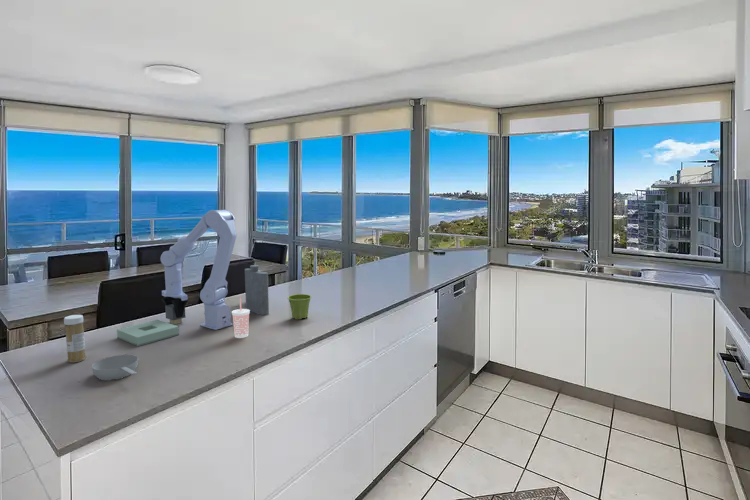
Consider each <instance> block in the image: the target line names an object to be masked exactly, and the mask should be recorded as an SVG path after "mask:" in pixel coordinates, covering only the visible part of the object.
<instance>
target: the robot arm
mask: <svg viewBox="0 0 750 500" xmlns="http://www.w3.org/2000/svg"><path fill="white" fill-rule="evenodd" d="M235 221H236V218H235V216H234V214H233V213H232V212H231V211H230V210H228V209H216V210H215V209H211V210H208V211H207V212H206V213H205V214H204V215H202V216H201V218H200V220H199V221H198V223H197V224H196V225H195V226H194V227H193V228H192V230H191V231H189V233H188V234H187V236H185V235H184V236H180V237H178V238H177V239H176V240H177V241H176V242H175V244H173V245H171V246H170V247H169V250H165V251H163V252H162V254H161V255H160V259H159V260H160V263H161V264H162V265H163V266H164V267H163V268H164V280H165V281H164V283H165V290H164V289H163V290H161V296H163V297H161V301H162V303H163V304H164V307H165V306H166V305H170V304H173V305H174V308H175V313H176V317H177V318H180V317H183V312H184V308H185V309H186V306H187V303H188V302H189V299H188V298H189V297H188V294H186V293H185V292H184V291H183V279H182V277H183V275H182V274H183V273H182V267H183V262H184V260H185V257H186V256H187V255H188V254H189V253H190V252H191V251H193V249H194V248H195V245H196V244H195V242H197V240H199V239H200V238H201V237H202V236H203V235H204V234H205V233H207V231H208V230H210V229H211V230H213V232H215V234H217V235H218V237H219V241H218V244H217V248H216V249H217V250H216V253H215V256H214V260H213V265H212V269H211V272H210V275H209V278H208V279H207V280H206V282H205V283H204V285H203V288H202V289H201V290H200V292H199V298H200V300H201V301H202V303H203V305H204V306H203V307H204V322H203V323H200V325H199V326H200V327H204V328H208V329H210V330H214V331H216V330H219V329H223V328H227V327H231V326H234V324H233V323H232V311H231V307H230V306H229V305H227V304H226V301H225V299H226V297H227V295H228V281H227V279H226V277H227V274H228V270H229V266H230V262H231V258H232V255H233V251H234V247H235V244H236V240H237V230H236V225H235Z"/></svg>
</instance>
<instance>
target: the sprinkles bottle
mask: <svg viewBox="0 0 750 500" xmlns="http://www.w3.org/2000/svg"><path fill="white" fill-rule="evenodd" d="M63 323H64V326H65V327H64V328H65V340H66V351H67V362H68V363H79V362H81V361H84V360H86V359H87V355H86V342H85V341H86V340H85V330H84V316H83V314H72V315H68V316H65V317H63Z"/></svg>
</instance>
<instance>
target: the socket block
mask: <svg viewBox="0 0 750 500" xmlns="http://www.w3.org/2000/svg"><path fill="white" fill-rule="evenodd" d="M179 327H180V326H178V325H177V324H171V323H170V322H166V321H163V320H160V319H154V320H150V321H145V322H143V323H137V324H134V325H130V326H126V327H122V328H117V329H116V335H117V336H116V337H117V339H120V340H122V341H125V342H127V343H130V344H131V345H134V346H137V347H141V346H144V345H148V344H150V343H151V344H152V343H155V342H159V341H161V340H165V339H169V338H172V337H176V336H179V335H180V330H179Z"/></svg>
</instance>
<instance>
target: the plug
mask: <svg viewBox="0 0 750 500" xmlns="http://www.w3.org/2000/svg"><path fill="white" fill-rule="evenodd" d="M164 308H165V310H164V311H165V319H167V320H169V324H173V325H178V324H180V323H183V320H182V319H184V318H186V307H185V308H184V312H183V317H180V318H177V317H176V313H175V308H174V305H173V304H170V305H166V306H165V305H164Z"/></svg>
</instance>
